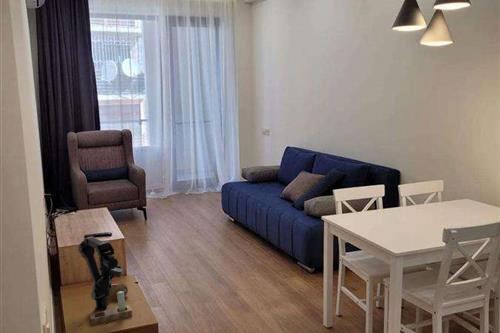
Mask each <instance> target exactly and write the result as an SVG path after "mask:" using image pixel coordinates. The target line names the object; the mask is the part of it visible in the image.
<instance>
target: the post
mask: <svg viewBox="0 0 500 333" xmlns="http://www.w3.org/2000/svg"><path fill="white" fill-rule="evenodd" d="M116 299H117V305H118V306H117V308H118V307H119V312H121V311H126V308H125V306H126V300H125V297H124V292H123V291H119V292H117V298H116Z"/></svg>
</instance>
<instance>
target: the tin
mask: <svg viewBox="0 0 500 333" xmlns="http://www.w3.org/2000/svg"><path fill="white" fill-rule="evenodd" d="M119 291H123V292H124V298H125V297H126V296H127V295H128V291H129V289H128V286H127V285H126V284H124V283H122V282H121V283H114V284H113V283H111V288H109V296H106V300H113V299H114V300H115V299H118V298H117V292H119Z"/></svg>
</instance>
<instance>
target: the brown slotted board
mask: <svg viewBox="0 0 500 333" xmlns="http://www.w3.org/2000/svg"><path fill="white" fill-rule="evenodd" d="M125 308H126V311H121V312H119V307H118V306H117V307H116V308H110V309H105V310H103V311H97V312H93V313H90V322H91V323H90V325H97V324H101V323H105V322H110V320H111V321H115V320H120V319H124V318H128V317H132V316H133V310H132V307H131V304H127V305H125ZM114 319H115V320H114Z"/></svg>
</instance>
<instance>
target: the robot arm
mask: <svg viewBox="0 0 500 333" xmlns="http://www.w3.org/2000/svg"><path fill="white" fill-rule="evenodd" d="M77 249H78V250H77V251H78V253H79V254H80V255H81V258H83V259H84V260H85V262H86V264H87V267H88V270H89V273H90V277H91V279H92V283H93V285H92V291H91V293H90V297H91V299H92V300H93V301H95V307H94V311H99V310H107V308H108V305H109V303H107V299H106V296H109V288H111V284H113V283H112V281H113V278H114V277H117V278H121V276H122V274H123V268H122V266H121V265H119V261H118V259H117V258H115V256H114V255H115V249H114V247H113V245H112V243H111V242H110V241H108V240H100V239H97V238H95V237H94V236H87V237H85V238H84V239H83V241H81V243H79V245H78V248H77ZM95 252H96V253H97V256H98V259H99V260H98V262H99V267H98V265H97V264H98V263H97V261H96V259H95Z"/></svg>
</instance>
